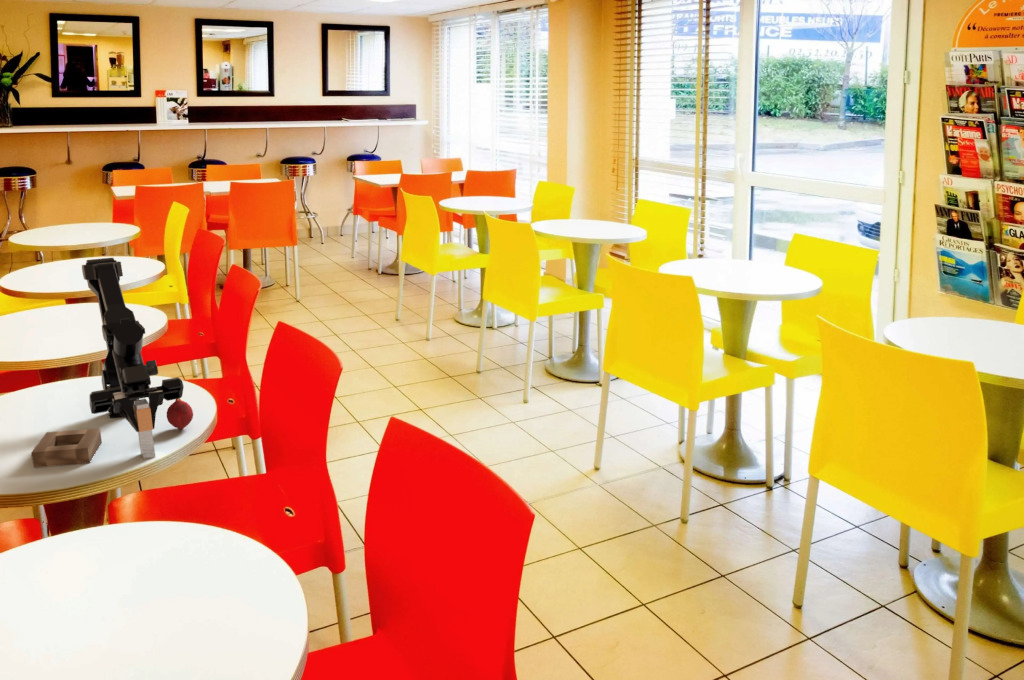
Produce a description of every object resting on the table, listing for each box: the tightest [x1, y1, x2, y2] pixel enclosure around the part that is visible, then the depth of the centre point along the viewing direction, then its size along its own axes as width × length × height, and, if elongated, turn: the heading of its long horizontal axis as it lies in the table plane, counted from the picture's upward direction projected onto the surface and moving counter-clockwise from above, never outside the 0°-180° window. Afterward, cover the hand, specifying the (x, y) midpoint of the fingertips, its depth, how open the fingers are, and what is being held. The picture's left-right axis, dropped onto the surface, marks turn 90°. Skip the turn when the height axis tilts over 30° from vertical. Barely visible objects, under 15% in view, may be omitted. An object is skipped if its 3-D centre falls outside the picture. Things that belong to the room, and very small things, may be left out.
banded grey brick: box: [133, 398, 156, 460], centre depth 185 cm, size 4×3×12 cm
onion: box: [166, 398, 194, 430], centre depth 199 cm, size 6×6×8 cm
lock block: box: [30, 427, 103, 469], centre depth 186 cm, size 11×11×4 cm
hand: (145, 429), depth 183 cm, fingers closed on banded grey brick, 3 cm apart
